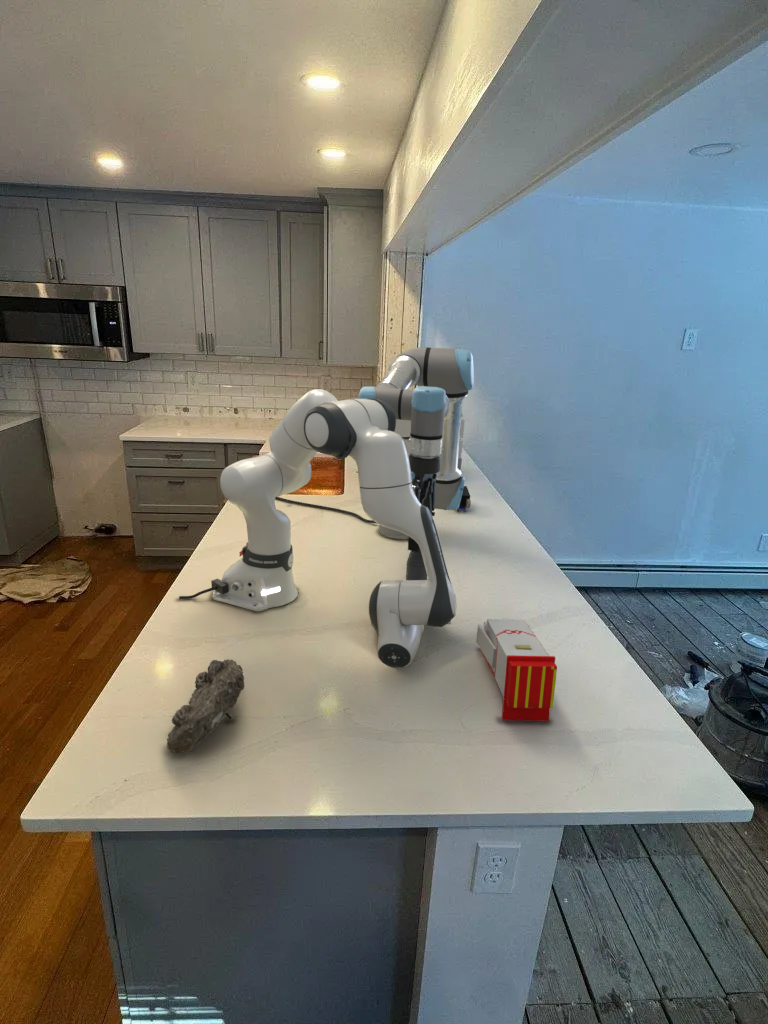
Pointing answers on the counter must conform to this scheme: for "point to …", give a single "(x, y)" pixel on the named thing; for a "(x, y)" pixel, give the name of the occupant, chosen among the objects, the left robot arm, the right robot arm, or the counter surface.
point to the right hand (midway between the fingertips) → (418, 545)
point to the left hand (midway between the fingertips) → (415, 592)
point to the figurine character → (465, 499)
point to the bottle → (415, 567)
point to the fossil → (206, 705)
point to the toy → (519, 668)
